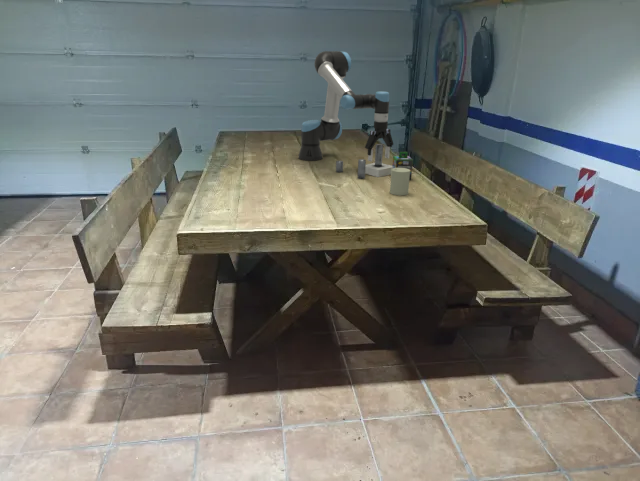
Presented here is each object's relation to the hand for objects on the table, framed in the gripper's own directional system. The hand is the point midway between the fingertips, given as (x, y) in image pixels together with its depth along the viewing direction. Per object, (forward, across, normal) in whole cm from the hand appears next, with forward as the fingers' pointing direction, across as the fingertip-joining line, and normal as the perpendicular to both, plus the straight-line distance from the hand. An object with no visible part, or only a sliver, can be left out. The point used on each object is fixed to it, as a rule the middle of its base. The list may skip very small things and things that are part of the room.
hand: (378, 159), depth 274 cm
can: (+8, -21, -35) cm, 42 cm away
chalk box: (+8, +2, -16) cm, 18 cm away
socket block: (+8, 0, 0) cm, 8 cm away
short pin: (+8, -16, +15) cm, 23 cm away
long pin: (+8, 0, 0) cm, 8 cm away
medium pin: (+8, -16, -3) cm, 18 cm away
